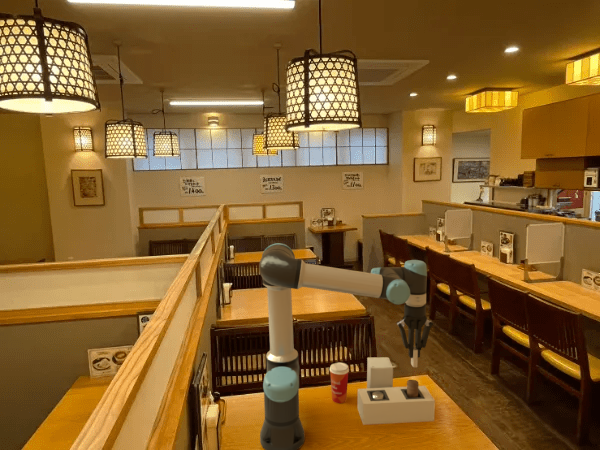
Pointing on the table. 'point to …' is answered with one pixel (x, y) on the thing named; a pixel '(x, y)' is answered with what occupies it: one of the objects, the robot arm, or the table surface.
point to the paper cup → (339, 382)
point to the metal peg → (377, 395)
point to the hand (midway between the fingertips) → (414, 365)
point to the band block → (395, 406)
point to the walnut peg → (412, 388)
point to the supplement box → (379, 372)
